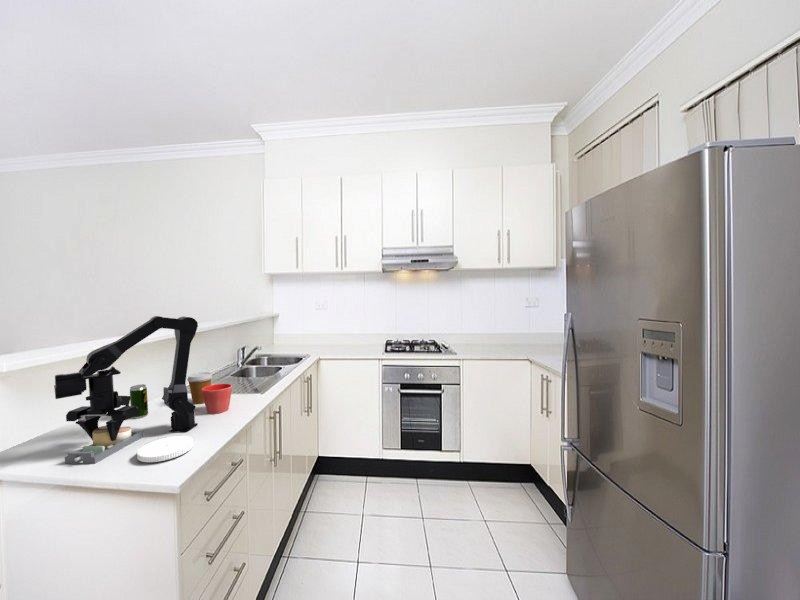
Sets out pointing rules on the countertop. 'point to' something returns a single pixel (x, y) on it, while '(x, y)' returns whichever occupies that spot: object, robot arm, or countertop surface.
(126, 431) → the cream jar
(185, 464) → the countertop surface
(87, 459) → the lane
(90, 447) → the pusher
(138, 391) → the beer can
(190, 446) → the plastic lid
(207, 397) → the flower pot
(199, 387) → the disposable coffee cup
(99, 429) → the amber jar
